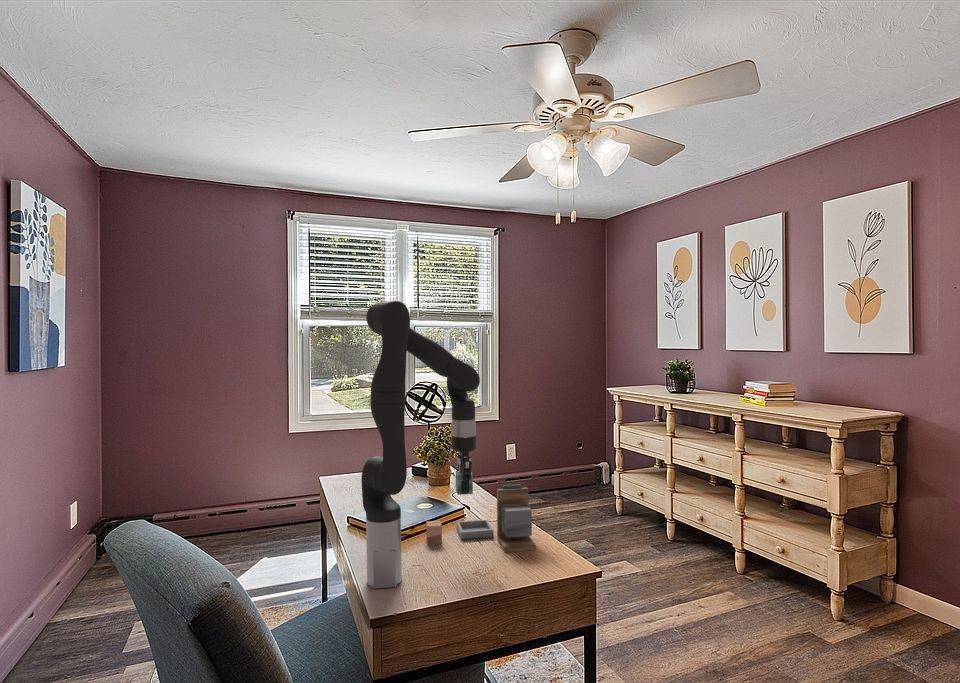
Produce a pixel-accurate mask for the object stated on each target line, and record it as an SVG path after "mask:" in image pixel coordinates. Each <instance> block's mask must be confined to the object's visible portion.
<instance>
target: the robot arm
mask: <svg viewBox="0 0 960 683" xmlns="http://www.w3.org/2000/svg"><path fill="white" fill-rule="evenodd" d="M365 316H366V318H365V319H366V323H367V326H368V328H369V329H370V330H371V331H372V332H373V333H375V334H377V335H379V336H380V337H381V354H380V358H379V362H378V364H377V366H376V368H375V371H374V374H373V377H372V379H371V385H370V401H369V402H370V412H371V416H372V418H373V421H374V423H375V425H376V428H377V430H378V432H379V434H380V439H381V444H382V456H372V457H370V458H368V459H367V460H366V462H365V463H364V465H363V467H362V472H361V496H362V498H361V499H362V506H363V510H364V512H365V515H366V516H365V525H366V526H365V529H366V530H365V537H366V538H365V540H366V544H365V546H366V547H365V548H366V583H367V585H368V586H370V587H371V588H372V589H373V590H374V589H375V590H376V589H386V588H387V589H388V588H396V587H397V586H398V584H400V583H401V582H402V577H403V576H402V535H401V520H402V510H401V506H400V504H399V503H398V502H397V501H395V499H393V497H392V496H396V495H398V494H399V493H400V492H401V491H402V490H403V489H404V488H405V485H406V482H407V474H408V472H407V469H408V466H407V454H406V453H407V452H406V440H405V437H406V436H405V434H406V433H405V432H406V431H405V428H406V427H405V416H406V415H405V414H406V413H405V412H406V411H405V410H406V374H407V373H406V372H407V367H406V366H407V353H409V354H411V355H412V356H414V357H415V358H416V359H418V361H419V360H420V362H422V363H423V364H424V365H426V367H428V368H429V369H430V370H432V371H433V372H434V373H436V374H437V375H439V376H441V377H443V378H446V388H447V391H448V392H447V393H448V395H449V396H448V397H449V401H450V402H451V403H450V404H451V424H450V430H451V431H450V440H451V441H450V445H451V447H450V448H451V450H452V451H454V452H456V454H455V455H456V458H455V459H456V467H457V468H456V469H457V470H456V471H459V472H460V473H461V482H462V493H469V480H471V472H472V456H471V455H470V452H473V451H475V450H476V449H477V423H476V405H475V404H476V402H475V401H474V400H473V399H471V398H470V397H469V396H468V393H469V392H473V391H475V390H476V389H478V387H479V385H480V384H481V383H480V382H481V378H480V377H481V376H480V375H479V373H478V371H477V370H476V369H475V368H474V367H472V366H471V365H469V364H468V363H466V362H465V361H462V360H461V359H459V358H457V357H455V356H453V354H451V353H450V352H449V351H448V350H447V349H446V348H444V347H443V346H442V345H440V343H437V341H434V340H432V339H431V338H428V337H427V336H425V335H423V334H421V333H419V332H418V331H415V330H414V329H412V328H411V327H410V326H411V315H410V311H409V308H408V307H407V306H406V304H405V303H404V302H402V301H400V300H386V301H380V302H377V303H374V304H372V305H371V306H369V308H368V310H367V312H366V314H365ZM465 473H467V474H468V476H464V474H465Z"/></svg>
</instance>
